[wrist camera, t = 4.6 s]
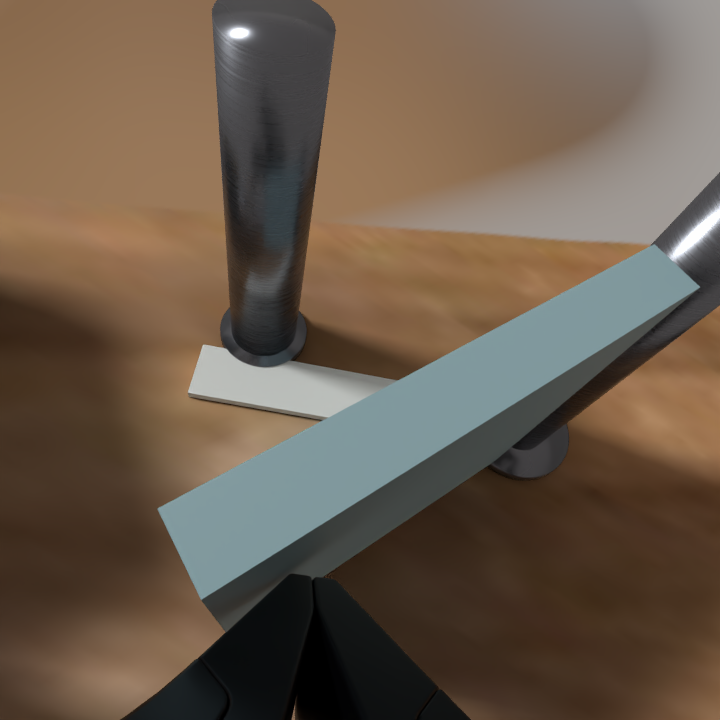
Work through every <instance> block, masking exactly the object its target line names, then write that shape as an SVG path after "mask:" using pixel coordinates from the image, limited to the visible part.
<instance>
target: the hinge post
mask: <svg viewBox="0 0 720 720" xmlns="http://www.w3.org/2000/svg"><path fill="white" fill-rule="evenodd" d="M654 244H655V245H656V246H657V247H658V248H659V249H660V250H661V251H662V252H663V253H665V254H666V255H667V256H668V257H669V258H670V259H671V260H672V261H673V262H674V263H675V264H676V265H677V266H678V267H679V268H680V269H682V270H683V271H684V272H685V273H686V274H687V275H688V276H689V277H690V278H691V279H692V280H693V281H694V282H695V283H696V284H697V285H699V286H700V288H699V289H698V290H697V291H695V292H694V293H693V294H692V295H691V296H689V297H688V298H687V299H686V300H685V301H684V302H682V303H681V304H680V305H679V306H678V307H676V308H675V309H674V310H673V311H672V312H671V313H669V314H668V315H667V316H666V317H665V318H663V319H662V320H661V321H660V322H659V323H657V324H656V325H655V326H654V327H653V328H652V329H650V330H649V331H648V332H647V333H646V334H644V335H643V336H642V337H641V338H640V339H639V340H637V341H636V342H635V343H634V344H633V345H631V346H630V347H629V348H628V349H627V350H626V351H624V352H623V353H622V354H621V355H620V356H618V357H617V358H616V359H615V360H614V361H613V362H611V363H610V364H609V365H608V366H607V367H605V368H604V369H603V370H602V371H601V372H600V373H598V374H597V375H596V376H595V377H594V378H592V379H591V380H590V381H589V382H588V383H587V384H585V385H584V386H583V387H582V388H581V389H579V390H578V391H577V392H576V393H575V394H574V395H572V396H571V397H570V398H569V399H568V400H566V401H565V402H564V403H563V404H562V405H560V406H559V407H558V408H557V409H556V410H555V411H553V412H552V413H551V414H550V415H549V416H547V417H546V418H545V419H544V420H543V421H542V422H540V423H539V424H538V425H537V426H536V427H534V428H533V429H532V430H531V431H530V432H529V433H527V434H526V435H525V436H524V437H523V438H521V439H520V440H519V441H518V442H517V443H516V444H514V445H513V446H512V447H511V448H510V449H508V450H507V451H506V452H505V453H504V454H503V455H501V456H500V457H499V458H498V459H497V460H495V461H494V462H493V463H491V464H490V465H488V467H489V468H490V469H492V470H493V471H495V472H496V473H498V474H500V475H502V476H505V477H507V478H511V479H515V480H522V481H524V480H535V479H538V478H541V477H543V476H545V475H547V474H549V473H550V472H552V471H553V470H554V469H556V468H557V467H558V466H559V465H560V464H561V463H562V461H563V459H564V458H565V456H566V453H567V450H568V445H569V433H568V428H567V424H566V423H568V422H569V421H570V420H572V419H573V418H574V417H576V416H577V415H578V414H579V413H581V412H582V411H583V410H585V409H586V408H587V407H588V406H590V405H591V404H592V403H594V402H595V401H596V400H598V399H599V398H600V397H601V396H603V395H604V394H605V393H607V392H608V391H609V390H610V389H612V388H613V387H614V386H616V385H617V384H618V383H620V382H621V381H622V380H623V379H625V378H626V377H627V376H629V375H630V374H631V373H633V372H634V371H635V370H636V369H638V368H639V367H640V366H642V365H643V364H644V363H645V362H647V361H648V360H649V359H651V358H652V357H653V356H655V355H656V354H657V353H658V352H660V351H661V350H662V349H664V348H665V347H666V346H667V345H669V344H670V343H671V342H673V341H674V340H675V339H677V338H678V337H679V336H680V335H682V334H683V333H684V332H686V331H687V330H688V329H689V328H691V327H692V326H693V325H695V324H696V323H697V322H699V321H700V320H701V319H702V318H704V317H705V316H706V315H708V314H709V313H710V312H712V311H713V310H714V309H715V308H717V307H718V306H719V305H720V173H719V174H718V175H717V176H716V177H715V178H714V179H713V180H712V181H711V182H710V183H709V184H708V185H707V186H706V187H705V188H704V190H703V191H702V192H701V193H700V194H699V195H698V196H697V197H696V198H695V199H694V200H693V201H692V202H691V203H690V204H689V205H688V206H687V207H686V209H685V210H684V211H683V212H682V213H681V214H680V215H679V216H678V217H677V218H676V219H675V220H674V221H673V222H672V223H671V224H670V226H669V227H668V228H667V229H666V230H665V231H664V232H663V233H662V234H661V235H660V236H659V237H658V238H657V239H656V241H654V242H653V243H652V244H651V246H652V245H654Z"/></svg>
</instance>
